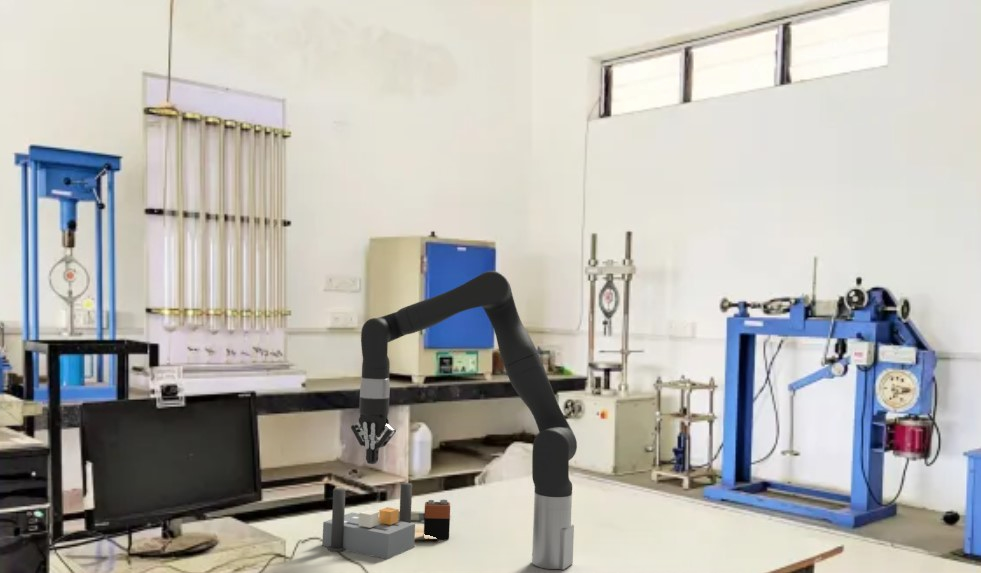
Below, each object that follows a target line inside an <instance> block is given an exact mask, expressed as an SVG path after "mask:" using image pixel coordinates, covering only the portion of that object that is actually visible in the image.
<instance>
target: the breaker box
mask: <svg viewBox="0 0 981 573" xmlns="http://www.w3.org/2000/svg"><path fill="white" fill-rule="evenodd" d="M331 534H332V518H331V519H327V520H325V521H323V523H322V547H327V548H328V546H330V545H331ZM415 535H416V523H413V522H411V523H408V522H402V521H399V520H398V522H397V523H394V524H391V525H389V524H383V523H379V521H378V525H376V526H374V527H371V528H369V527H363V526H359V513H357V512H349V513H346V514H344V530H343V548H345V551H346V552H351V553H356V554H361V555H365V556H371V557H375V558H382V559H385V560H386V559H387V560H388V559H392V558H393V557H396V556H398V555H400V554H403V553H405V552H407V551H410V550H411V549H413V548H415V541H416V540H415V538H416V537H415Z"/></svg>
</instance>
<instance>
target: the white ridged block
mask: <svg viewBox="0 0 981 573" xmlns="http://www.w3.org/2000/svg"><path fill="white" fill-rule="evenodd" d="M358 514H359V526H363V527H369V528H371V527H374V526H376V525H378V521H379V511H377V510H376V511H375V510H369V509H366V510H364V511H363V510H362V511H361V512H359V513H358Z"/></svg>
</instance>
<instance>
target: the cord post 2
mask: <svg viewBox="0 0 981 573" xmlns="http://www.w3.org/2000/svg"><path fill="white" fill-rule="evenodd" d="M399 494H400V496H399V516H398V521H402V522H408V523H412V503H413V502H412V501H413V500H412V498H413V483H411V482H402V483H400V493H399Z"/></svg>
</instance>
